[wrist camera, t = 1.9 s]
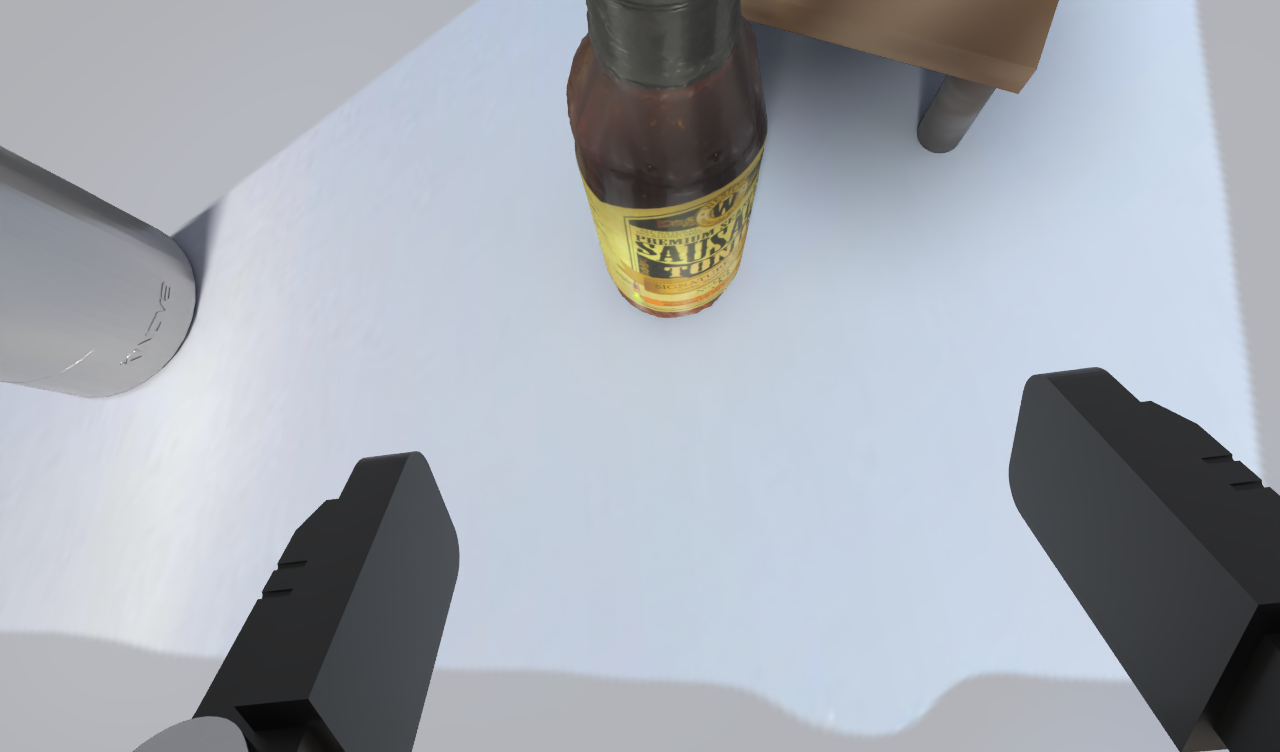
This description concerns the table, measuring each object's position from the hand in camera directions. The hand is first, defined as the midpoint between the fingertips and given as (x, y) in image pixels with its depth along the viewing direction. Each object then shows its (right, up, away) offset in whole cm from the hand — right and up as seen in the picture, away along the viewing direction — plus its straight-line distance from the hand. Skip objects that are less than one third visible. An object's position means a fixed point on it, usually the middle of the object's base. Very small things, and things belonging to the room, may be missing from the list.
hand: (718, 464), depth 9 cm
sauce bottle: (+1, +7, +24) cm, 25 cm away
